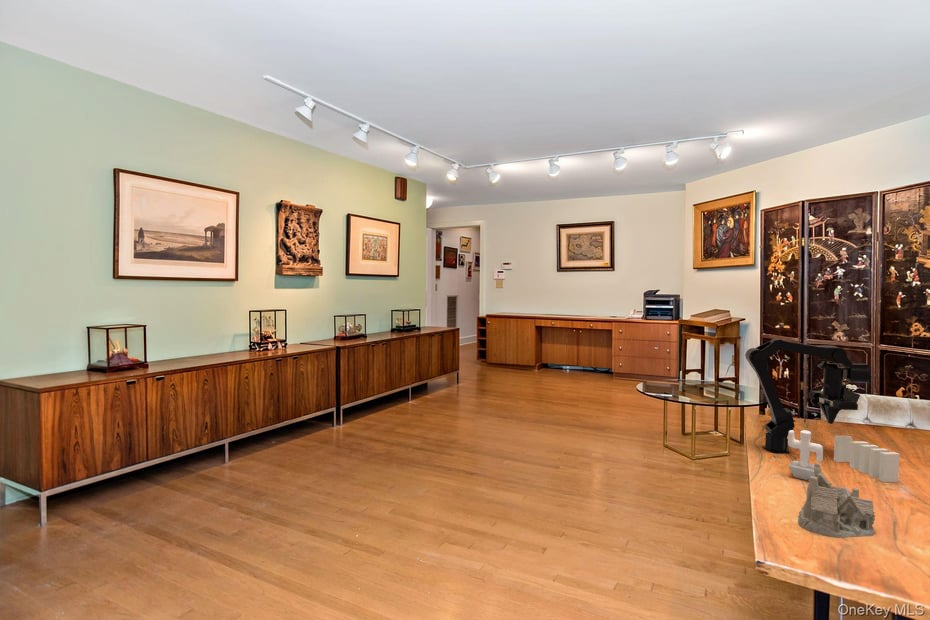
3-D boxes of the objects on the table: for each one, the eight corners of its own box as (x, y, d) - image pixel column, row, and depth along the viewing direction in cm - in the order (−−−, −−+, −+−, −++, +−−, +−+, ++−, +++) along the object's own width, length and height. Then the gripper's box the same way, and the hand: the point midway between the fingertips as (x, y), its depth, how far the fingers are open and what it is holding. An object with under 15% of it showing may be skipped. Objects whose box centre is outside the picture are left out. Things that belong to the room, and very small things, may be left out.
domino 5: (883, 482, 158) (884, 454, 157) (878, 480, 159) (880, 452, 159) (898, 481, 158) (899, 453, 157) (893, 480, 159) (895, 452, 159)
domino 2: (853, 469, 169) (854, 442, 168) (849, 467, 170) (851, 441, 170) (867, 469, 169) (869, 442, 169) (863, 467, 171) (864, 441, 170)
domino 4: (872, 477, 161) (874, 450, 161) (868, 475, 163) (870, 448, 162) (887, 477, 162) (889, 450, 161) (883, 475, 163) (884, 448, 163)
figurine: (818, 484, 155) (821, 436, 154) (783, 475, 162) (785, 430, 161) (824, 478, 160) (826, 432, 159) (789, 470, 167) (791, 426, 166)
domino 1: (837, 462, 175) (838, 436, 175) (833, 460, 177) (834, 435, 177) (850, 462, 176) (852, 436, 175) (847, 460, 177) (848, 435, 177)
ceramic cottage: (791, 525, 127) (798, 468, 126) (804, 508, 139) (811, 455, 138) (869, 552, 117) (878, 490, 116) (876, 531, 128) (884, 474, 127)
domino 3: (863, 473, 165) (864, 446, 165) (858, 471, 167) (860, 444, 166) (877, 473, 165) (878, 446, 165) (873, 471, 167) (874, 444, 166)
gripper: (875, 386, 171) (872, 431, 172) (839, 377, 190) (836, 417, 190) (841, 385, 172) (838, 430, 173) (808, 376, 190) (806, 416, 191)
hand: (830, 423), depth 182 cm, fingers closed
